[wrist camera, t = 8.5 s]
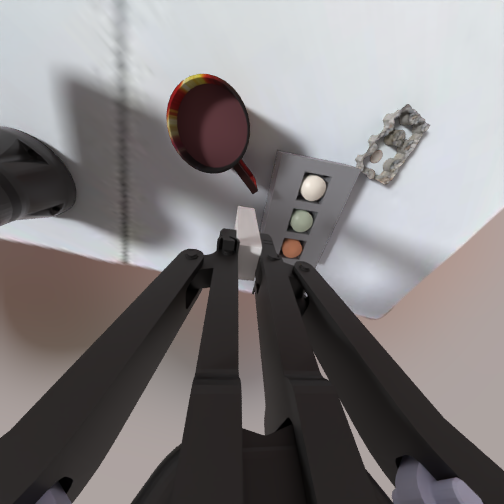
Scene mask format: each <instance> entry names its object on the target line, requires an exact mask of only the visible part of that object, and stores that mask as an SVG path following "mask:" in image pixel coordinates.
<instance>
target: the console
mask: <svg viewBox="0 0 504 504" xmlns="http://www.w3.org/2000/svg"><path fill="white" fill-rule="evenodd" d="M361 170H362V169H359V168H356V167H353V166H350V165H347V164H342V163H337V162H332V161H327V160H322V159H317V158H312V157H307V156H302V155H298V154H293V153H288V152H283V151H278V152H277V156H276V160H275V165H274V169H273V174H272V178H271V183H270V187H269V192H268V196H267V201H266V205H265V210H264V214H263V219H262V223H261V228H260V232H259V233H264V234H269V235H270V236H271V237H272V240H273V244H274V247H275V250H276V253H277V254H279V255H280V256H281V257H282V259H283V262H285V263H287V264H290V265H294V264H295V262H297V261H304V262H307V263H309V264H311V265H312V266H313V267H314V268H316V266H317V263H318V261H319V259H320V257H321V255H322V253H323V251H324V249H325V246H326V244H327V242H328V240H329V238H330V236H331V234H332V231H333V229H334V227H335V225H336V223H337V221H338V219H339V216H340V214H341V212H342V210H343V208H344V206H345V204H346V202H347V199H348V197H349V195H350V193H351V191H352V189H353V187H354V184H355V182H356V180H357V178H358V176H359V174H360V172H361ZM308 173H313V174H315V175H317V176H319V177H320V178H322V179H323V180H324V181H325V184H326V190H325V192H324V194H323V196H322V197H321V198H319V199H318V200H315V201H308V200H306V199H305V198H304V197H303V196H302V195H301V193H300V192H299V189H300V186H301V183H302V179H303V176H304V175H305V174H308ZM293 208H296V209H302V210H307V211H308V212H309V214H310V215H311V216H312V218H313V223H312V226H311V227H310V228H309V229H308V230H306V231H304V232H297V231H295V230H294V229H293V228H292V226H291V224H290V222H289V221H290V218H291V214H292V211H293ZM284 238H289V239H296V240H299V242H300V244H301V246H302V251H301V253H300V254H299V255H298V256H297V257H294V258H288V257H286V256H285V255H284V254H283V251H282V248H281V246H282V243H283V240H284Z"/></svg>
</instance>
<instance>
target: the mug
mask: <svg viewBox="0 0 504 504" xmlns="http://www.w3.org/2000/svg"><path fill="white" fill-rule="evenodd" d="M166 116H167V128H168V132H169V136H170V139H171V141H172V144H173V146H174V147H175V149H176V151H177V152H178V154H179V155H180V156H181V157H182V159H183V160H184V161H186V162H187V163H188V164H189V165H190V166H192V167H193V168H195V169H197V170H199V171H202V172H206V173H221V172H225V171H227V170H229V169H231V168H234V170H235V171H236V172H237V174H238V175H239V176H240V178H241V179H242V180H243V182H244V183H245V184H246V186H247V187H248V188H249V190H250V191H251V193H252V194H254V193H256V192H257V191H258V189H257V185H256V180H255V178H254V176H253V174H252V173H251V172H250V170H249V169H248V167H247V166H246V165H245V163H244V162H243V160H242V157H243V155H244V154H245V152H246V149H247V146H248V143H249V137H250V123H249V118H248V113H247V110H246V108H245V105H244V103H243V101H242V99H241V97H240V96H239V95H238V93H237V92H236V91H235V89H234V88H233V87H232V86H230V85H229V84H228V83H227V82H226V81H224V80H222V79H220V78H219V77H217V76H213V75H209V74H197V75H193V76H189V77H188V78H186V79H185V80H183V81H182V82H181V83H180V84H179V85H178V86H177V87H176V88H175V89H174V91H173V93H172V95H171V97H170V100H169V103H168V107H167V115H166Z"/></svg>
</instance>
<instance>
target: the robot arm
mask: <svg viewBox="0 0 504 504" xmlns="http://www.w3.org/2000/svg"><path fill="white" fill-rule="evenodd" d="M75 198H76V189H75V185H74V182H73V179H72V177H71V175H70V173H69V171H68V170H67V168H66V167H65V165H64V164H63V163H62V161H61V160H60V159H59V158H58V157H57V156H56V155H55V154H54V153H53V152H52V151H51V150H50V149H49V148H47V147H46V146H45V145H44V144H42V143H41V142H39V141H38V140H36V139H35V138H33V137H31V136H30V135H28V134H26V133H23V132H21V131H19V130H16V129H12V128H8V127H2V126H0V226H2V225H4V224H7V223H9V222H12V221H15V220H23V219H35V218H46V217H52V216H56V215H58V214H60V213H63V212H65V211H67V210H68V209H70V208H71V207H72V205H73V204H74V202H75ZM254 278H256V281H255V284H254V288H253V292H252V294H254V292H255V299H256V309H257V319H258V330H259V340H260V350H261V359H262V360H261V361H262V371H263V381H264V392H265V403H266V409H265V418H264V419H265V420H264V427H265V435H261V434H257V433H255V432H252V431H249V430H246V429H243V428H242V400H241V399H242V398H241V397H242V396H241V381H240V378H239V372H238V279H241V280H252V281H254ZM208 287H210V292H209V297H208V304H207V309H206V315H205V321H204V327H203V333H202V338H201V344H200V350H199V355H198V361H197V367H196V373H195V377H194V380H193V384H192V389H191V394H190V399H189V405H188V411H187V417H186V422H185V428H184V433H183V439H182V443H181V444H180V445H179V446H178V447H176V448H175V449H174V450H173V451H172V452H171V453H170V454H169V455H167V456H166V458H165V459H164V460H163V461H162V462H161V463H160V464H159V466H158V467H157V468H156V469H155V471H154V472H153V474H152V475H151V476H150V478H149V479H148V481H147V482H146V483H145V485H144V486H143V488H142V489H141V490H140V491H139V493H138V494H137V496H136V497H135V498H134V500H133V501H132V503H131V504H504V471H503V470H502V469H501V468H500V467H499V466H498V465H497V464H495V463H494V462H493V461H492V460H491V459H490V458H489V457H487V456H486V455H485V454H484V453H483V452H482V451H481V450H479V449H478V448H477V447H476V446H475V445H474V444H473V443H472V442H470V441H469V440H468V439H467V438H466V437H465V436H464V435H462V434H461V433H460V432H459V431H458V430H457V429H456V428H455V427H453V426H452V425H451V424H450V423H449V422H448V421H447V420H445V419H444V418H443V416H442V415H441V414H440V413H439V412H438V411H437V409H436V408H435V407H434V406H433V405H432V404H431V403H430V401H429V400H428V399H427V398H426V397H425V396H424V395H423V393H422V392H421V391H420V390H419V389H418V387H417V386H416V385H415V384H414V383H413V382H412V381H411V379H410V378H409V377H408V376H407V375H406V374H405V373H404V371H403V370H402V369H401V368H400V367H399V365H398V364H397V363H396V362H395V361H394V360H393V359H392V357H391V356H390V355H389V354H388V353H387V352H386V350H385V349H384V348H383V347H382V346H381V345H380V344H379V342H378V341H377V340H376V339H375V338H374V337H373V335H372V334H371V333H370V332H369V331H368V330H367V329H366V327H365V326H364V325H363V324H362V323H361V322H360V320H359V319H358V318H357V317H356V316H355V315H354V313H353V312H352V311H351V310H350V309H349V308H348V306H347V305H346V304H345V303H344V302H343V301H342V299H341V298H340V297H339V296H338V295H337V294H336V293H335V291H334V290H333V289H332V288H331V287H330V286H329V284H328V283H327V282H326V281H325V280H324V279H323V277H322V276H321V275H320V274H319V273H318V272H317V271H316V269H315V268H314V267H313V266H312V265H311V264H309V263H307V262H304V261H297V262H295V264H294V265H290V264H287V263H285V262H283V259H282V257H281V256H280V255H279V254H277V253H276V250H275V247H274V244H273V240H272V237H271V236H270V235H269V234H264V233H259V229H258V224H257V219H256V214H255V209H254V208H249V207H242V206H238V209H237V215H236V222H235V229H234V230H232V229H222V230H221V231H220V237H219V238H218V241H217V251H216V252H215V253H213V254H209V255H203V253H202V252H201V251H199V250H197V249H187V250H184V251H182V252H181V253H180V254H179V255H178V256H177V257H176V258H175V259H174V260H173V261H172V262H171V263H170V264H169V265H168V266H167V267H166V268H165V269H164V270H163V271H162V272H161V274H160V275H159V276H158V277H157V278H156V279H155V280H154V281H153V282H152V283H151V284H150V285H149V286H148V287H147V288H146V289H145V290H144V291H143V292H142V293H141V295H140V296H138V298H137V299H136V300H135V301H134V302H133V303H132V304H131V305H130V306H129V307H128V308H127V309H126V310H125V311H124V312H123V313H122V314H121V315H120V316H119V317H118V318H117V319H116V320H115V322H114V323H113V324H112V325H111V326H110V327H109V328H108V329H107V330H106V331H105V332H104V333H103V334H102V335H101V336H100V337H99V338H98V339H97V340H96V341H95V342H94V343H93V344H92V345H91V347H90V348H89V349H88V350H87V351H86V352H85V353H84V354H83V355H82V356H81V357H80V358H79V359H78V360H77V361H76V362H75V363H74V364H73V365H72V366H71V367H70V368H69V369H68V370H67V372H66V373H65V374H64V375H63V376H62V377H61V378H60V379H59V380H58V381H57V382H56V383H55V384H54V385H53V386H52V387H51V388H50V389H49V390H48V391H47V393H46V394H44V396H43V397H42V398H41V399H40V400H39V401H38V402H37V403H36V404H35V405H34V406H33V407H32V408H31V409H30V410H29V411H28V412H27V413H26V414H25V415H24V416H23V417H22V418H21V420H20V421H19V422H18V423H17V424H16V425H15V426H14V427H13V428H12V429H11V430H10V431H9V432H7V433H6V434H5V435H4V436H2V437H1V438H0V504H72V503H73V502H74V500H75V499H76V497H78V495H79V494H80V493H81V491H82V490H83V488H84V487H85V486H86V484H87V483H88V481H89V480H90V479H91V477H92V476H93V474H94V473H95V472H96V470H97V469H98V467H99V466H100V464H101V463H102V461H103V459H104V458H105V456H106V455H107V453H108V451H109V450H110V448H111V446H112V445H113V443H114V442H115V440H116V438H117V436H118V435H119V433H120V431H121V430H122V428H123V426H124V424H125V422H126V421H127V419H128V417H129V416H130V414H131V412H132V410H133V409H134V407H135V405H136V403H137V402H138V400H139V398H140V397H141V395H142V393H143V391H144V390H145V388H146V386H147V384H148V383H149V381H150V379H151V378H152V376H153V374H154V372H155V371H156V369H157V367H158V365H159V364H160V362H161V360H162V359H163V357H164V355H165V353H166V352H167V350H168V348H169V346H170V345H171V343H172V341H173V340H174V338H175V336H176V334H177V333H178V331H179V329H180V327H181V326H182V324H183V322H184V320H185V319H186V317H187V315H188V314H189V312H190V310H191V308H192V306H193V305H194V303H195V301H196V300H197V298H198V296H199V294H200V293H201V291H202V288H208ZM305 292H306V293H307V295H308V297H306V296H305V294H304V293H305ZM313 352H314V353H313ZM314 354H315V355H316V357H317V359H318V361H319V363H320V364H321V366H322V368H323V370H324V372H325V373H326V375H327V377H328V379H329V380H327V379H325V378H323V376H322V375H321V373H320V371H319V368H318V365H317V362H316V359H315V356H314ZM340 401H341V402H342V404H343V406H344V407H345V410H346V411H347V413H348V415H349V417H350V419H351V420H352V422H353V424H354V426H355V428H356V429H357V431H358V433H359V435H360V436H361V438H362V440H363V441H364V443H365V445H366V446H367V448H368V450H369V452H370V453H371V455H372V456H373V457H374V459H375V460H376V462H377V463H378V465H379V466H380V468H381V469H382V471H383V472H384V473H385V475H386V476H387V477H388V478H389V480H390V481H391V482H392V484H393V485H394V486H395V488H396V489H394V490H393V492H392V499H393V502H392V501H391V500H390V498H389V497H388V496H387V495H386V494H385V492H384V491H383V490H382V489H381V487H380V486H379V485H378V484H377V482H376V481H375V480H374V479H373V478H372V476H371V475H370V474H369V473H368V472H367V470H366V469H365V467H364V464H363V462H362V459H361V456H360V453H359V451H358V448H357V445H356V443H355V440H354V437H353V434H352V432H351V429H350V426H349V424H348V421H347V418H346V416H345V413H344V411H343V408H342V405H341V402H340Z"/></svg>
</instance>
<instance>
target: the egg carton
mask: <svg viewBox="0 0 504 504" xmlns="http://www.w3.org/2000/svg"><path fill="white" fill-rule="evenodd" d="M399 116H400V117H399ZM398 117H399V123H400V124H401V125H413V124H414V125H413V127H412V133H413V134H412V136H411V137H410V138H409V140H404V139H405V132H404V130H393V129H394V126H395V125H394V124H395V122H394V119H395V118H398ZM383 122H384V128H383V130H382V132H381V133H380V134H378V135H372V136H371V137H370V139H369V140H368V142H369V145H370V146H369V148H368V150H367V152H366V153H365V154H363V155H358V156H357V157H356V159H355V161H356V162H357V166H356V168H359V169H362V170H361V172H363V173H364V174H367V177H368V178H369V179H374V180H377V181H379V182H381V183H382V184H384V185H385V184H388V183H389V181H391V180H392V179H393V177H394V176H395V175H396V174H397V172H398V171H399V167H400V166H401V165H402V164H403V163H404V162H405V159H406V158H407V157H408V156H409V154H410V153H411V152H412V151H413V150H414V149H415V147H416V145H417V144H418V142H419V140H420V139H421V137H422V134H423V132H425V131H427V130H428V128H429V126H430V125H429V124H427V123H426V122H425V119H424V118H422V117H421V116H420V114H418V113H417V111H416V110H414V109H412V107H411V106H410V105H409V104H407V105H406V106H405V107H403V108H402V109H401V110H397V111H396V112H395V113H392V114H386V116H385V117H384V119H383ZM379 136H381V137H383V136H385V137H384V143H385V144H386V145H392V146H397V154H396V155H395V157H394V158H390V159H387V160H386V161H385V162H384V164H383V170H384V171H383V172H382V173H381V174H380V175H376V176H375V171H374V170H373V169H369V168H364V165H363V160H364V158H365V157H366V156H371V157H370V161H371V162H372V163H377V162H378V161H380V160H381V158H382V155H383V153H382V151H381V150H377V149H378V147H377V146H378V145H377V144H376V143H375V142H376V141H377V140H379V139H380V138H381V137H380V138H379ZM375 150H376V151H375Z"/></svg>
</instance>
